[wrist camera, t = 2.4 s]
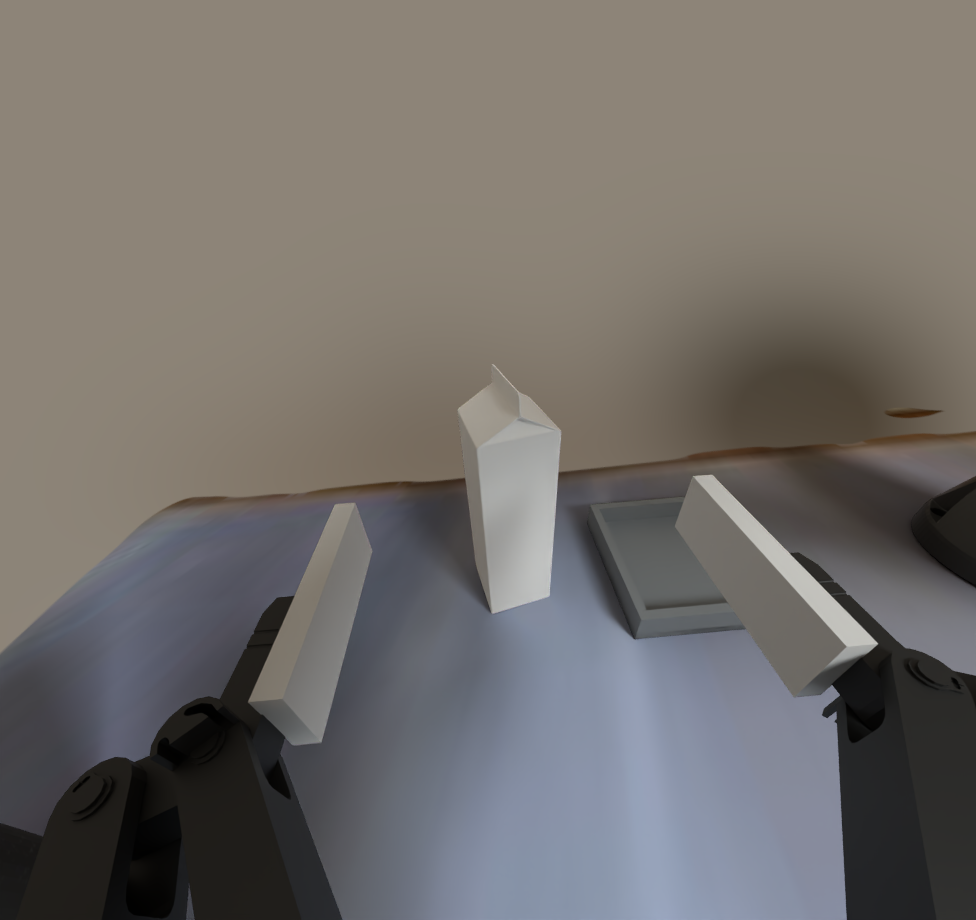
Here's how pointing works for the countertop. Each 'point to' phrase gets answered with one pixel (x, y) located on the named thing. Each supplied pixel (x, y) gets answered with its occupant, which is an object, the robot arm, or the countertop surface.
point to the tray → (657, 570)
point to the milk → (510, 491)
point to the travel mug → (15, 867)
